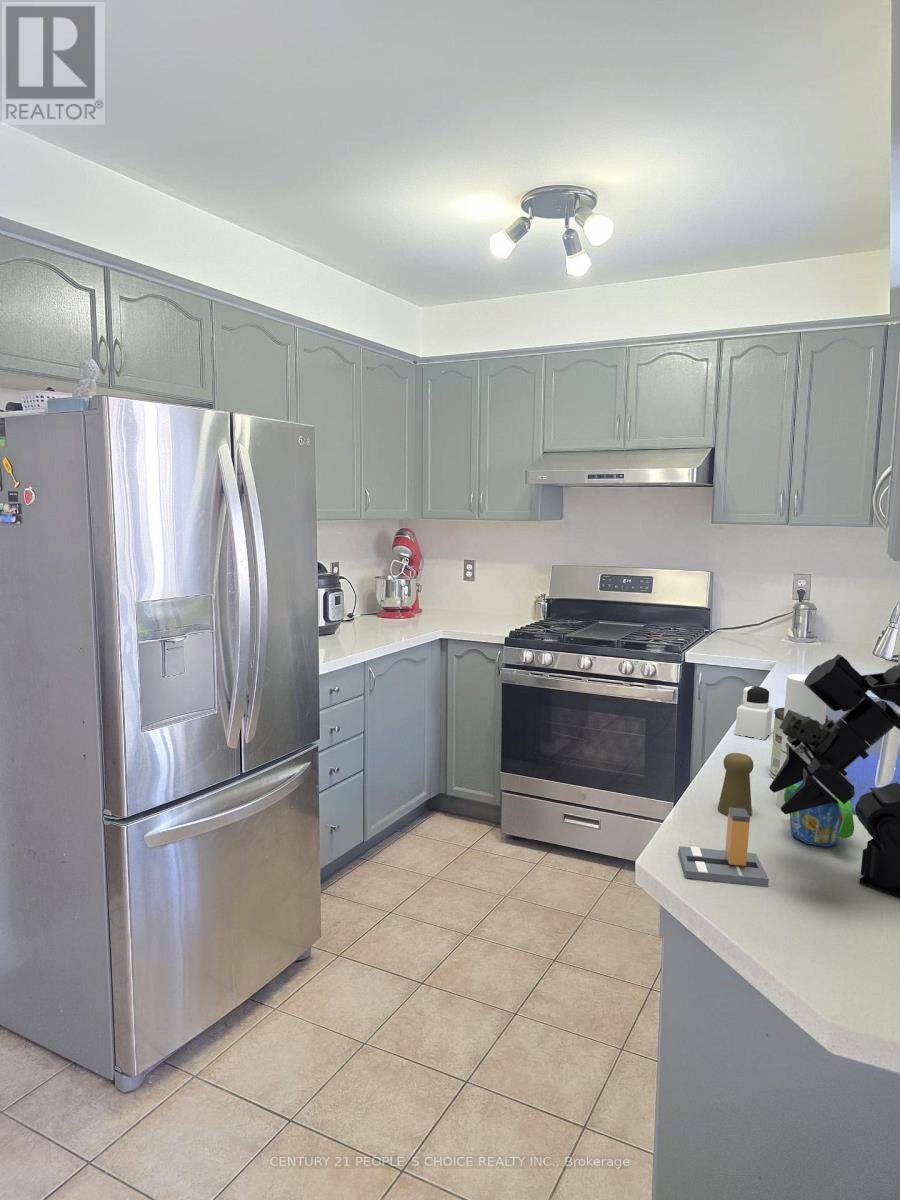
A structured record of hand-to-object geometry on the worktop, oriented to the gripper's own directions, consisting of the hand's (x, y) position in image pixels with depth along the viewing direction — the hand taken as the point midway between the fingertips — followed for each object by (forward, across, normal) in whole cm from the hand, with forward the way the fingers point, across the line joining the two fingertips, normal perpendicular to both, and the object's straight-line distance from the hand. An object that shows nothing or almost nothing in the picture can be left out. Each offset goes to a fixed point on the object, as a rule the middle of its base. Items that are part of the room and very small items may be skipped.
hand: (776, 800), depth 124 cm
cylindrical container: (+2, -30, +15) cm, 34 cm away
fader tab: (+12, +1, +3) cm, 13 cm away
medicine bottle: (+3, -80, +15) cm, 81 cm away
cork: (+10, -24, +6) cm, 27 cm away
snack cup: (+2, -15, +15) cm, 22 cm away
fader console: (+14, +1, +2) cm, 14 cm away
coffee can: (0, -48, +18) cm, 51 cm away
